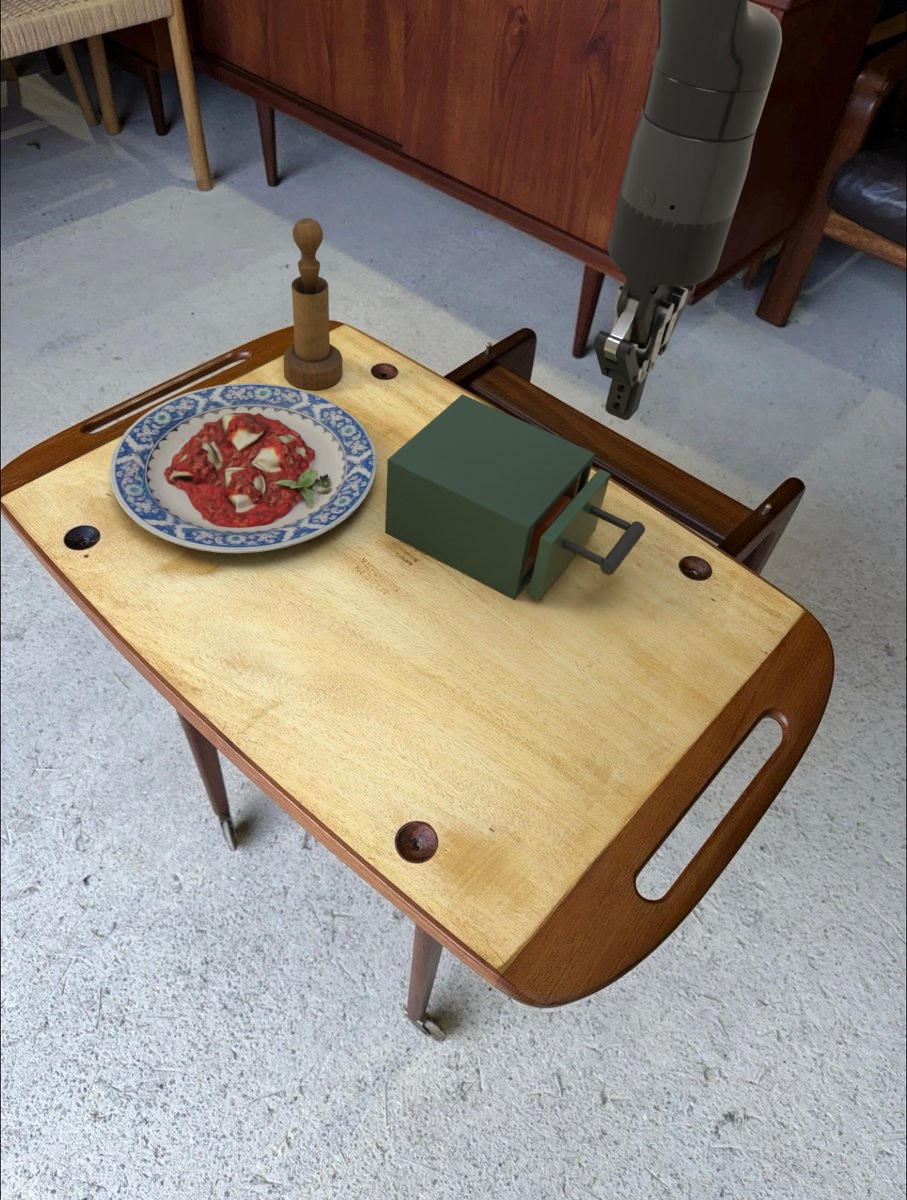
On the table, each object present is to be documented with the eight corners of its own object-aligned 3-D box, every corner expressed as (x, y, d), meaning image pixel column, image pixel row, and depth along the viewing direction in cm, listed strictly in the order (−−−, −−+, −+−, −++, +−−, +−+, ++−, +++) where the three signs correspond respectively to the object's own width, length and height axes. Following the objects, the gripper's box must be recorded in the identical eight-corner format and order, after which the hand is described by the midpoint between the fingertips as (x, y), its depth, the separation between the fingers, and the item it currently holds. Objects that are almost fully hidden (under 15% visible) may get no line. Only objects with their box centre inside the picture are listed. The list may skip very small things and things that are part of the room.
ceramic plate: (57, 481, 88) (50, 457, 85) (249, 371, 102) (247, 348, 100) (246, 611, 79) (242, 589, 76) (427, 470, 93) (428, 447, 91)
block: (563, 533, 86) (571, 498, 82) (541, 561, 83) (548, 525, 80) (522, 514, 87) (529, 479, 84) (499, 540, 84) (505, 504, 81)
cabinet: (577, 524, 90) (595, 453, 83) (514, 600, 82) (528, 528, 75) (454, 466, 94) (462, 393, 87) (384, 532, 87) (387, 459, 80)
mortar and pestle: (304, 397, 100) (296, 242, 86) (273, 368, 103) (261, 214, 90) (353, 378, 103) (353, 226, 90) (322, 351, 106) (317, 200, 93)
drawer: (643, 553, 86) (662, 496, 81) (590, 626, 80) (607, 569, 74) (478, 474, 92) (486, 417, 87) (416, 536, 85) (420, 478, 80)
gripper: (693, 249, 53) (627, 474, 66) (767, 177, 61) (695, 391, 74) (581, 209, 55) (539, 434, 68) (666, 145, 63) (614, 358, 76)
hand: (620, 412), depth 71 cm, fingers closed
